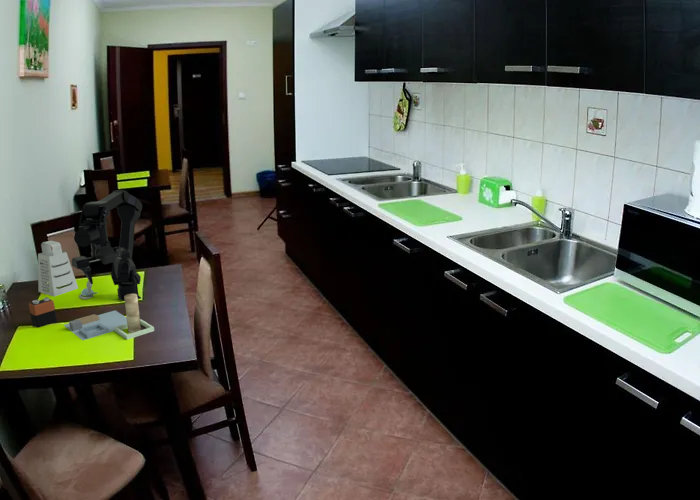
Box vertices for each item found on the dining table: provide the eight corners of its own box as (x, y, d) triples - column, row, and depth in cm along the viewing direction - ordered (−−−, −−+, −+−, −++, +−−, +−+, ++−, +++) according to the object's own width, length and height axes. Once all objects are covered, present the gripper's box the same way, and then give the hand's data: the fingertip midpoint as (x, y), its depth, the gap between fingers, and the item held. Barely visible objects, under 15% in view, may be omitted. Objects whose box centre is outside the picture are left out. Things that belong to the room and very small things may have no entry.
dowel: (134, 329, 198) (130, 292, 194) (143, 331, 196) (139, 294, 193) (125, 333, 194) (121, 296, 191) (135, 335, 193) (131, 298, 189)
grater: (54, 296, 229) (45, 247, 223) (38, 291, 235) (30, 243, 229) (78, 288, 238) (70, 241, 232) (62, 283, 243) (55, 237, 237)
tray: (141, 325, 202) (141, 319, 201) (154, 333, 195) (153, 327, 195) (115, 334, 196) (114, 327, 195) (127, 342, 189) (126, 335, 188)
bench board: (115, 313, 212) (114, 303, 211) (136, 327, 201) (135, 317, 200) (64, 328, 200) (62, 318, 199) (83, 343, 189) (81, 333, 188)
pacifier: (84, 301, 225) (99, 296, 229) (81, 286, 223) (97, 282, 227) (76, 297, 229) (91, 292, 233) (73, 282, 227) (88, 277, 231)
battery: (32, 327, 201) (27, 300, 198) (52, 321, 206) (48, 295, 203) (37, 331, 198) (33, 303, 196) (58, 324, 203) (53, 298, 200)
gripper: (80, 248, 191) (87, 293, 196) (135, 237, 204) (140, 279, 208) (67, 242, 199) (74, 285, 204) (121, 231, 211) (126, 272, 216)
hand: (104, 280), depth 208 cm, fingers open, 9 cm apart
